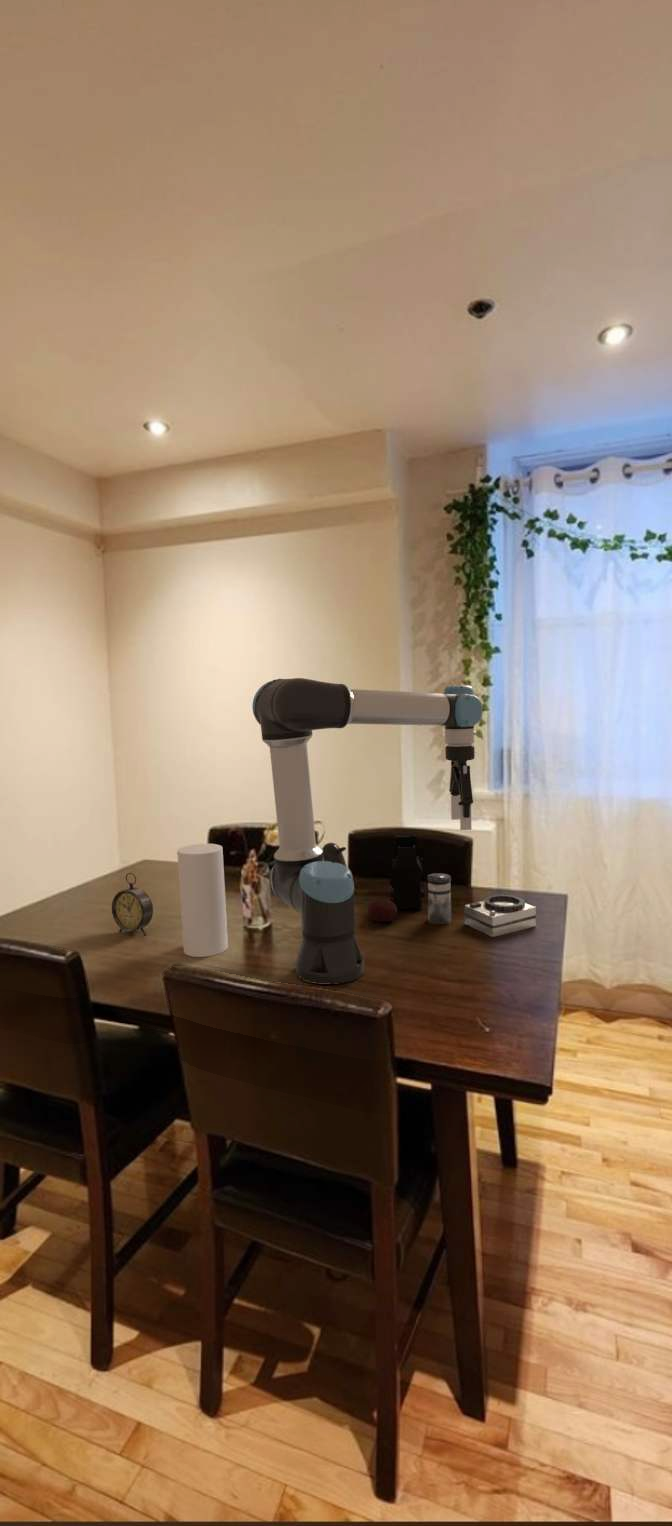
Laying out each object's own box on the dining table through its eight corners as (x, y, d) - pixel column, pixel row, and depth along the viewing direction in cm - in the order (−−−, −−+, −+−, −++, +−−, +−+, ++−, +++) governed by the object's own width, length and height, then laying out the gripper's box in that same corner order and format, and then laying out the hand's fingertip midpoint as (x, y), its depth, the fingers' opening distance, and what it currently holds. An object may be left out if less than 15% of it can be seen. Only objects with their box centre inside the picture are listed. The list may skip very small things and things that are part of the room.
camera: (424, 895, 200) (422, 829, 198) (425, 910, 187) (424, 839, 184) (390, 895, 201) (388, 829, 199) (389, 910, 188) (387, 840, 186)
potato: (376, 928, 174) (376, 906, 174) (362, 919, 182) (361, 897, 181) (401, 923, 177) (401, 901, 177) (386, 914, 185) (385, 893, 184)
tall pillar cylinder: (180, 945, 168) (173, 846, 165) (222, 937, 172) (216, 841, 169) (188, 960, 158) (181, 856, 155) (232, 951, 162) (227, 850, 160)
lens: (436, 926, 174) (435, 880, 173) (423, 919, 180) (422, 875, 178) (457, 921, 177) (456, 876, 176) (443, 915, 183) (442, 871, 181)
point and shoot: (492, 937, 166) (492, 912, 165) (464, 923, 175) (464, 900, 175) (535, 926, 172) (535, 902, 171) (506, 913, 182) (506, 891, 181)
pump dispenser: (337, 898, 201) (336, 848, 199) (309, 893, 206) (307, 844, 204) (355, 889, 209) (354, 840, 207) (327, 884, 215) (326, 837, 213)
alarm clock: (112, 933, 178) (107, 873, 176) (126, 926, 183) (122, 868, 181) (144, 938, 173) (139, 877, 171) (158, 931, 178) (154, 871, 176)
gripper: (484, 748, 165) (485, 833, 167) (465, 740, 189) (466, 814, 192) (453, 749, 165) (455, 834, 167) (438, 741, 189) (439, 815, 192)
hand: (461, 824), depth 179 cm, fingers open, 13 cm apart
